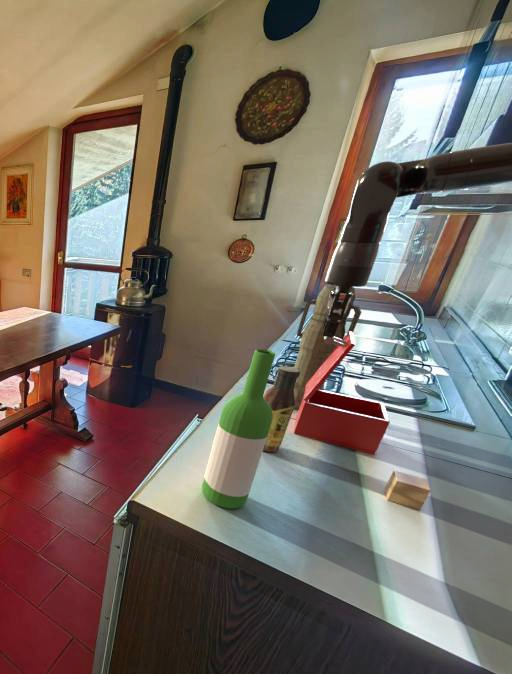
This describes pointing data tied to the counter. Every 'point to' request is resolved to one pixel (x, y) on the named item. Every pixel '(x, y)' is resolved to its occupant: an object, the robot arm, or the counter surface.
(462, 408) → the counter surface
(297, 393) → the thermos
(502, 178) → the robot arm
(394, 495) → the block
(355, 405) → the red box
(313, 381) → the red box lid
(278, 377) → the sauce bottle
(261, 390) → the wine bottle
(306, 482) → the counter surface
